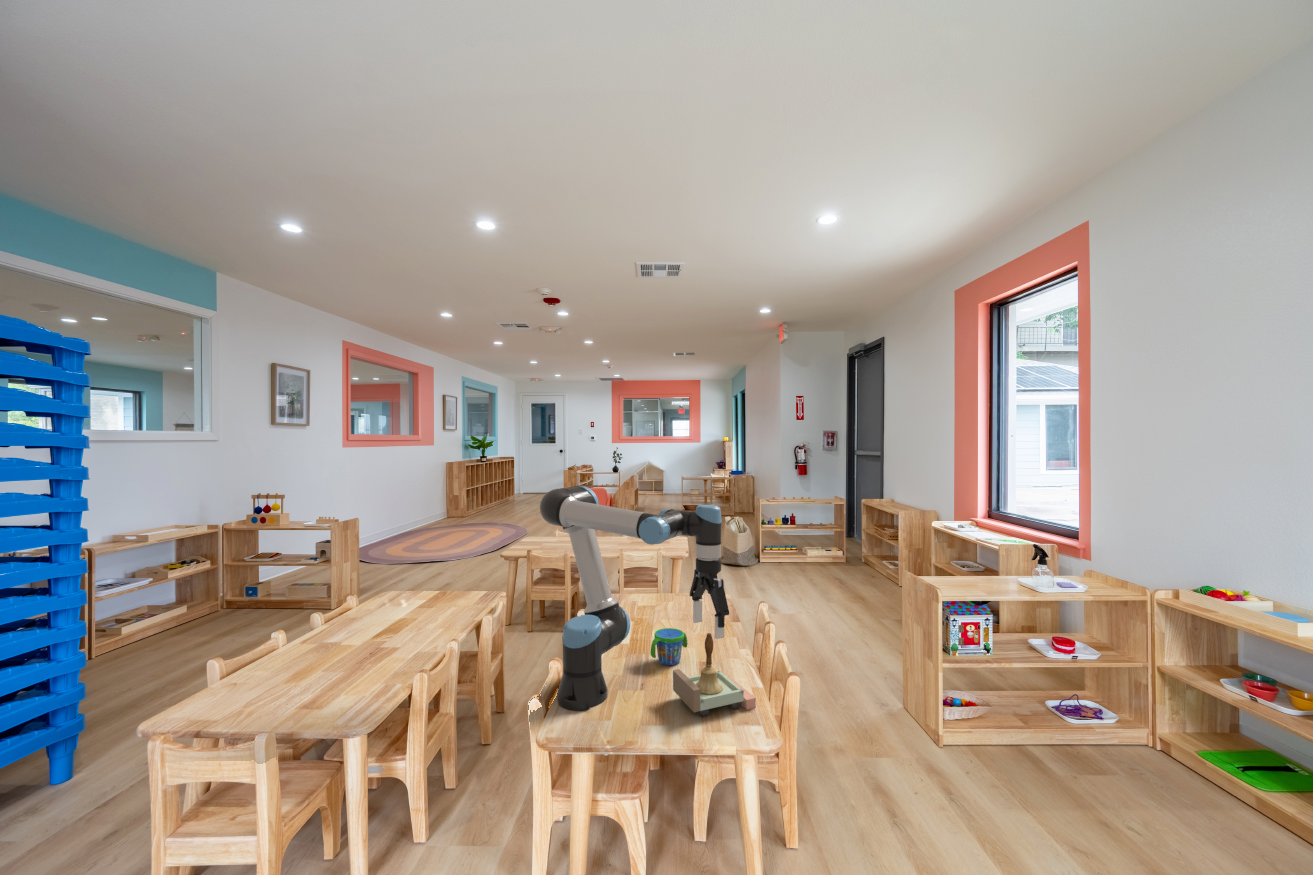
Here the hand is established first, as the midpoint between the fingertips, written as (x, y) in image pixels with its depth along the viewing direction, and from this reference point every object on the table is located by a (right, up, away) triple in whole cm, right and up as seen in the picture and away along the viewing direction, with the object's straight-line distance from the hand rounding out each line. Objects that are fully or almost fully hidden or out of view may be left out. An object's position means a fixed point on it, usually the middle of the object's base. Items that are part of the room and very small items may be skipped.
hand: (708, 629), depth 153 cm
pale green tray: (+1, -22, 0) cm, 22 cm away
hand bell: (0, -17, 0) cm, 17 cm away
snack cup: (-11, -23, +30) cm, 39 cm away
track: (-3, -22, -2) cm, 22 cm away
